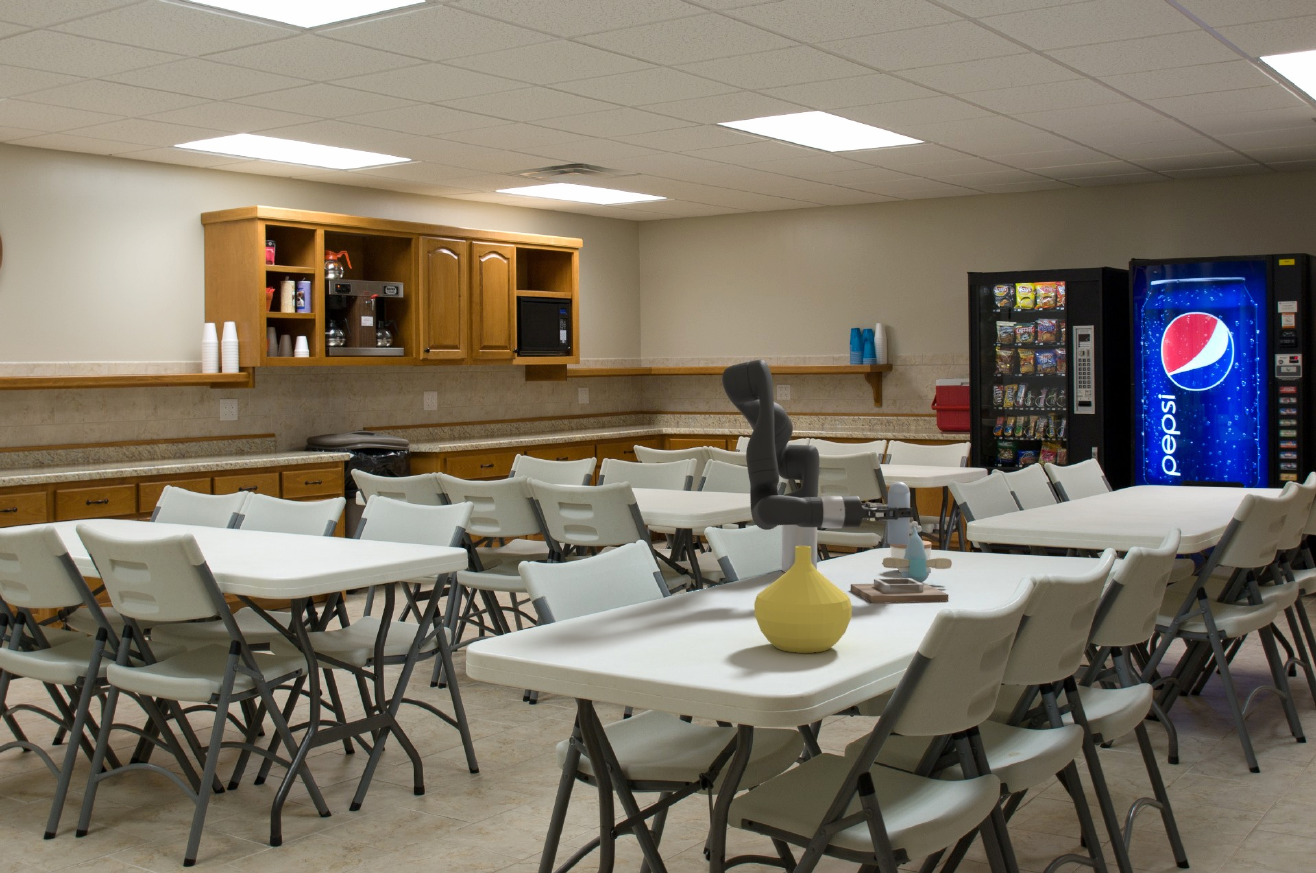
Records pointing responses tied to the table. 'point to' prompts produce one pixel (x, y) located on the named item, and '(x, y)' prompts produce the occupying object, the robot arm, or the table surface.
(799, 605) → the vase
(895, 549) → the lidded jar
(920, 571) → the teal toy airplane
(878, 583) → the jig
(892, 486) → the grey rounded-top cylinder
